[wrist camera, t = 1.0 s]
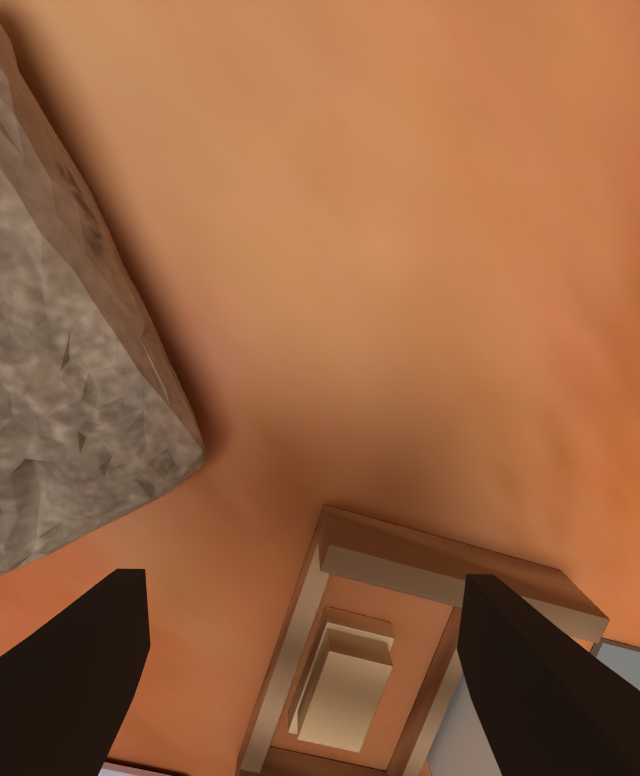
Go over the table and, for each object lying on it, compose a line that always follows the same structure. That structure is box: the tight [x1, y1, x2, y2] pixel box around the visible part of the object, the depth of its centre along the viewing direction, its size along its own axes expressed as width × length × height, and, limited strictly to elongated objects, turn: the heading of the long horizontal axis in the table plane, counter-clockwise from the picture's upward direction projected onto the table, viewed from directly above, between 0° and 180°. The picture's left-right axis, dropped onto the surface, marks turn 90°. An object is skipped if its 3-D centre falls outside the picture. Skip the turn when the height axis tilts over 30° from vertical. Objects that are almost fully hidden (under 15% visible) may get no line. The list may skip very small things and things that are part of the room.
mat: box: [590, 638, 640, 690], centre depth 23 cm, size 11×6×1 cm, turn 162°
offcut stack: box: [288, 606, 395, 753], centre depth 21 cm, size 6×3×3 cm, turn 162°
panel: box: [427, 673, 502, 776], centre depth 20 cm, size 8×2×6 cm, turn 162°
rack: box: [235, 505, 610, 776], centre depth 20 cm, size 15×12×4 cm
